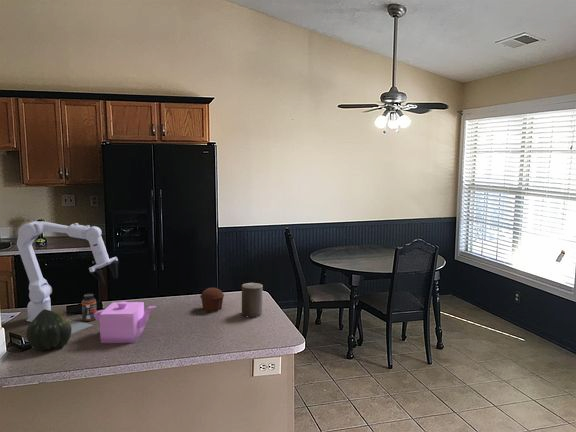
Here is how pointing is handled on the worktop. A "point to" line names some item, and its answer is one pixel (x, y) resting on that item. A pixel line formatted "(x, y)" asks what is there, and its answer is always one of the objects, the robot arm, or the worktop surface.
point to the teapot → (122, 321)
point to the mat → (78, 326)
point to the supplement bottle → (88, 307)
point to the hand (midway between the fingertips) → (109, 281)
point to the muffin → (212, 299)
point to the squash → (48, 330)
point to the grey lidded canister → (252, 299)
